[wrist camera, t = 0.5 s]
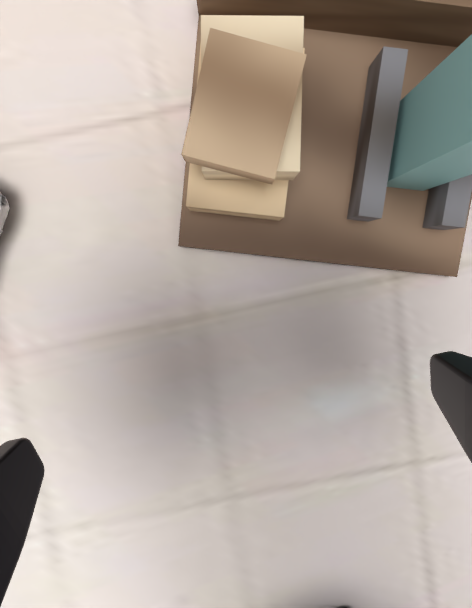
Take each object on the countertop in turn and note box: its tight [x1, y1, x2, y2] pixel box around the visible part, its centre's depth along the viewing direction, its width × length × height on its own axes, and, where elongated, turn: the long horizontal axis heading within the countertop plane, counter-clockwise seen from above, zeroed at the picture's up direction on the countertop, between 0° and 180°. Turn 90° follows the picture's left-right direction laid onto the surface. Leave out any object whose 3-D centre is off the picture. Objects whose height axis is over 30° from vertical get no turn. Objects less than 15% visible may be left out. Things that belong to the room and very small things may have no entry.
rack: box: [178, 0, 472, 277], centre depth 18 cm, size 13×16×6 cm
